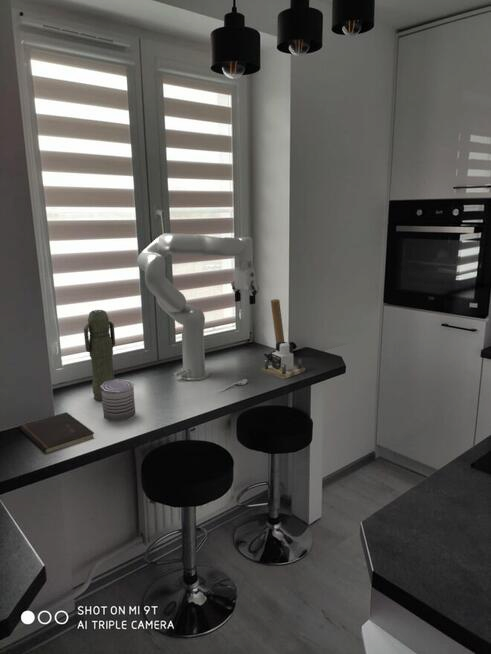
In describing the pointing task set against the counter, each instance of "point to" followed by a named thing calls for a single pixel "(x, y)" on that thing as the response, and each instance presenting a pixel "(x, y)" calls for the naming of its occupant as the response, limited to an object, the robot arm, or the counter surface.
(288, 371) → the peg stand
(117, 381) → the can
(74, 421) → the hardcover book
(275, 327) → the hammer
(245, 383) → the spoon
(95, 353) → the dark green tall piece
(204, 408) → the counter surface
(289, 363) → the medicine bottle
